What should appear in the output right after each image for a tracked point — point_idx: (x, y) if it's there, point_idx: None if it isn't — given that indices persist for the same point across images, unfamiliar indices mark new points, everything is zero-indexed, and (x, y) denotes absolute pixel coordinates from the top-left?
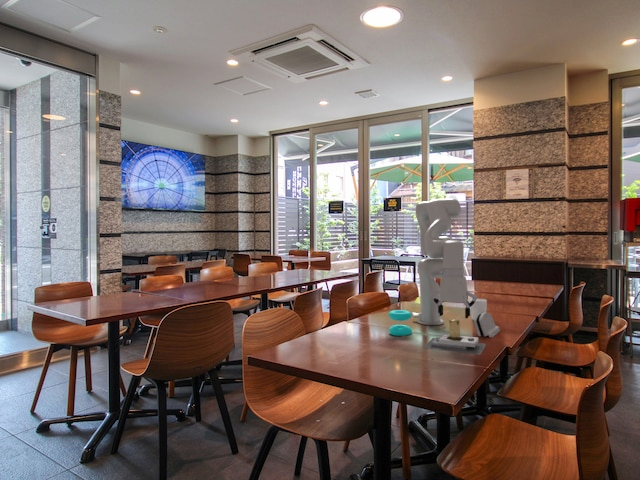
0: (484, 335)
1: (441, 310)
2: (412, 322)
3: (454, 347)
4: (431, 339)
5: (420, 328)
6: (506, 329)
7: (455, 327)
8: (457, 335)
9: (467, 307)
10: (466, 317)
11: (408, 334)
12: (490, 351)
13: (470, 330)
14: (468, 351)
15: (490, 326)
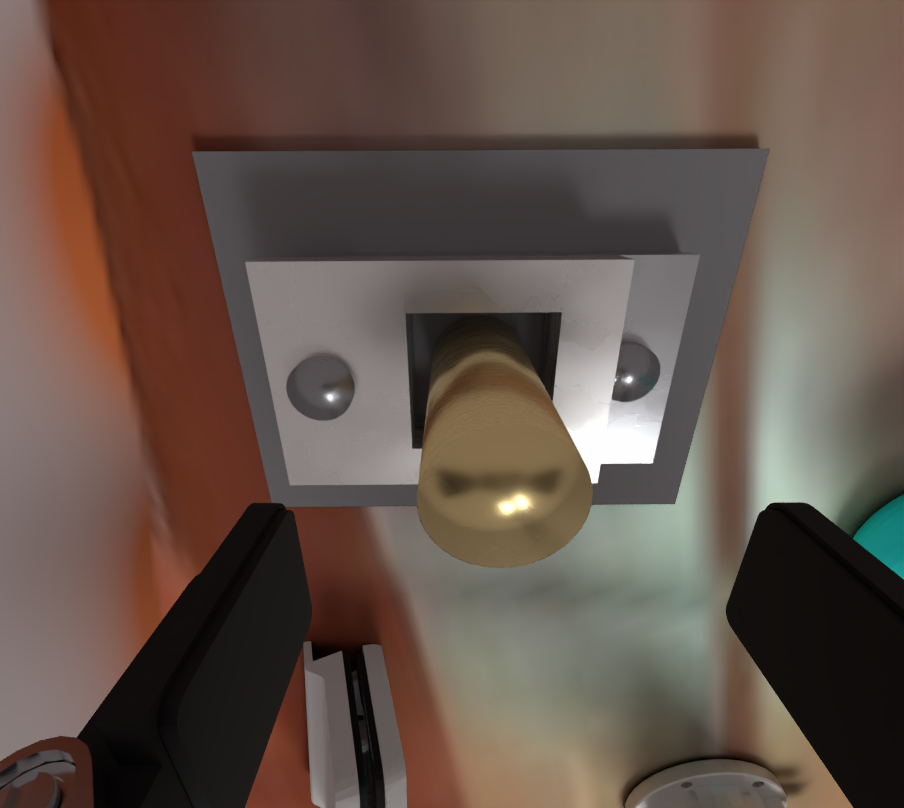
0: (339, 657)
1: (860, 602)
2: (807, 775)
3: (459, 253)
4: (684, 464)
5: (761, 692)
6: (290, 800)
7: (467, 385)
8: (445, 361)
9: (80, 771)
10: (257, 508)
11: (875, 518)
12: (191, 353)
13: (458, 740)
14: (325, 223)
15: (327, 774)
